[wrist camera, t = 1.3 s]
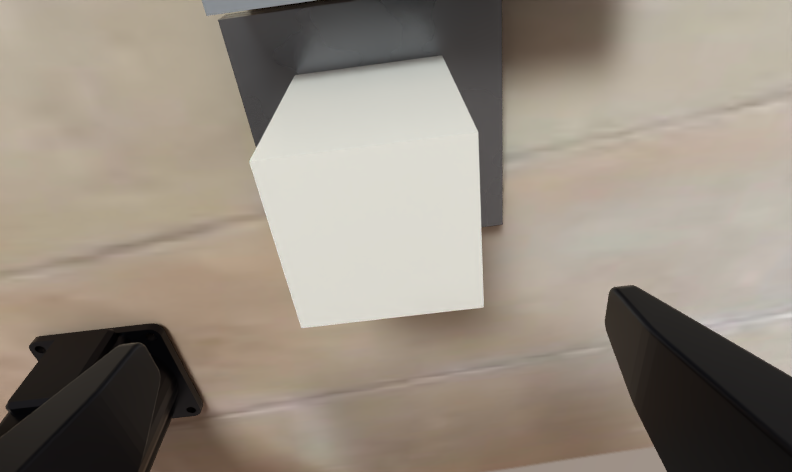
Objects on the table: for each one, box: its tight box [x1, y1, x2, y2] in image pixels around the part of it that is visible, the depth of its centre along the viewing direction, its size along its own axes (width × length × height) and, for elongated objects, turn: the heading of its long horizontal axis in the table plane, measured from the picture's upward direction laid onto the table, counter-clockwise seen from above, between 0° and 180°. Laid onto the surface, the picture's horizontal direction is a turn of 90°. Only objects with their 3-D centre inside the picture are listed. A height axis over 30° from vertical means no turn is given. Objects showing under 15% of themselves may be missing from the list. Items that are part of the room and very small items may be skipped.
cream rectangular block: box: [249, 55, 484, 328], centre depth 15 cm, size 5×5×7 cm
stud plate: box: [218, 0, 503, 227], centre depth 17 cm, size 9×9×5 cm
